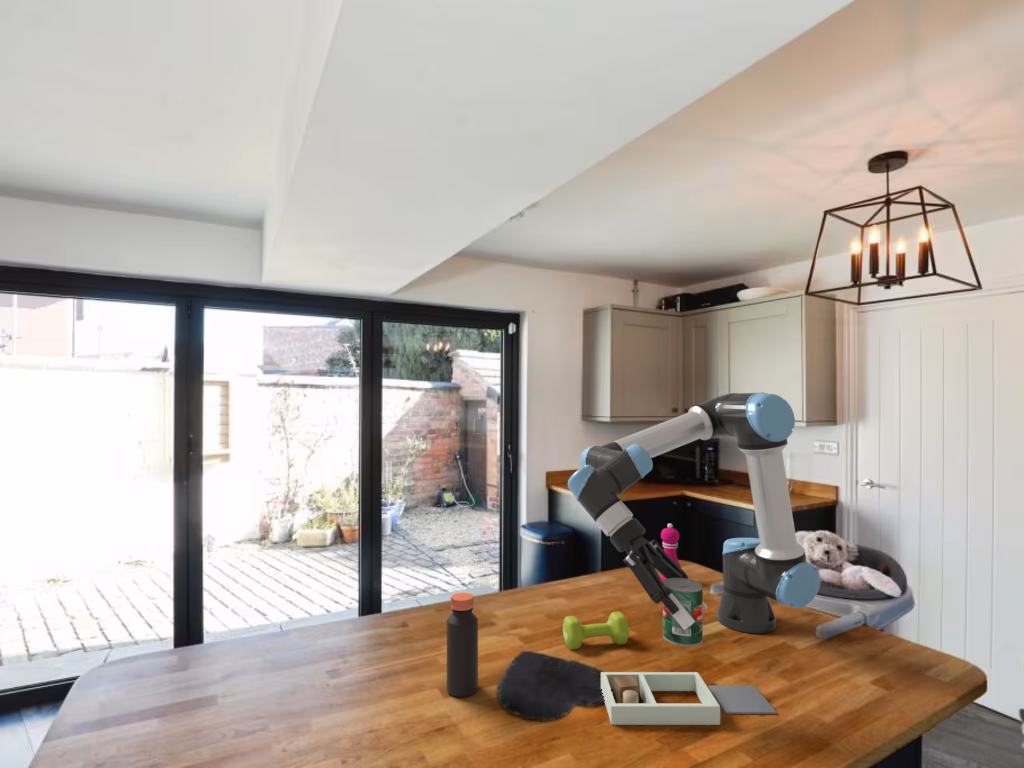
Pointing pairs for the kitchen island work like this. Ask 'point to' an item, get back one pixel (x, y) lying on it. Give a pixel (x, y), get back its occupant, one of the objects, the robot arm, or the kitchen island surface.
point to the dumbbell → (595, 630)
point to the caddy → (661, 711)
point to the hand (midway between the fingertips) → (696, 618)
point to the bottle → (462, 647)
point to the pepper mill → (670, 543)
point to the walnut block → (624, 687)
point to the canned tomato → (691, 600)
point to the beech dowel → (630, 696)
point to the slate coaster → (741, 699)
